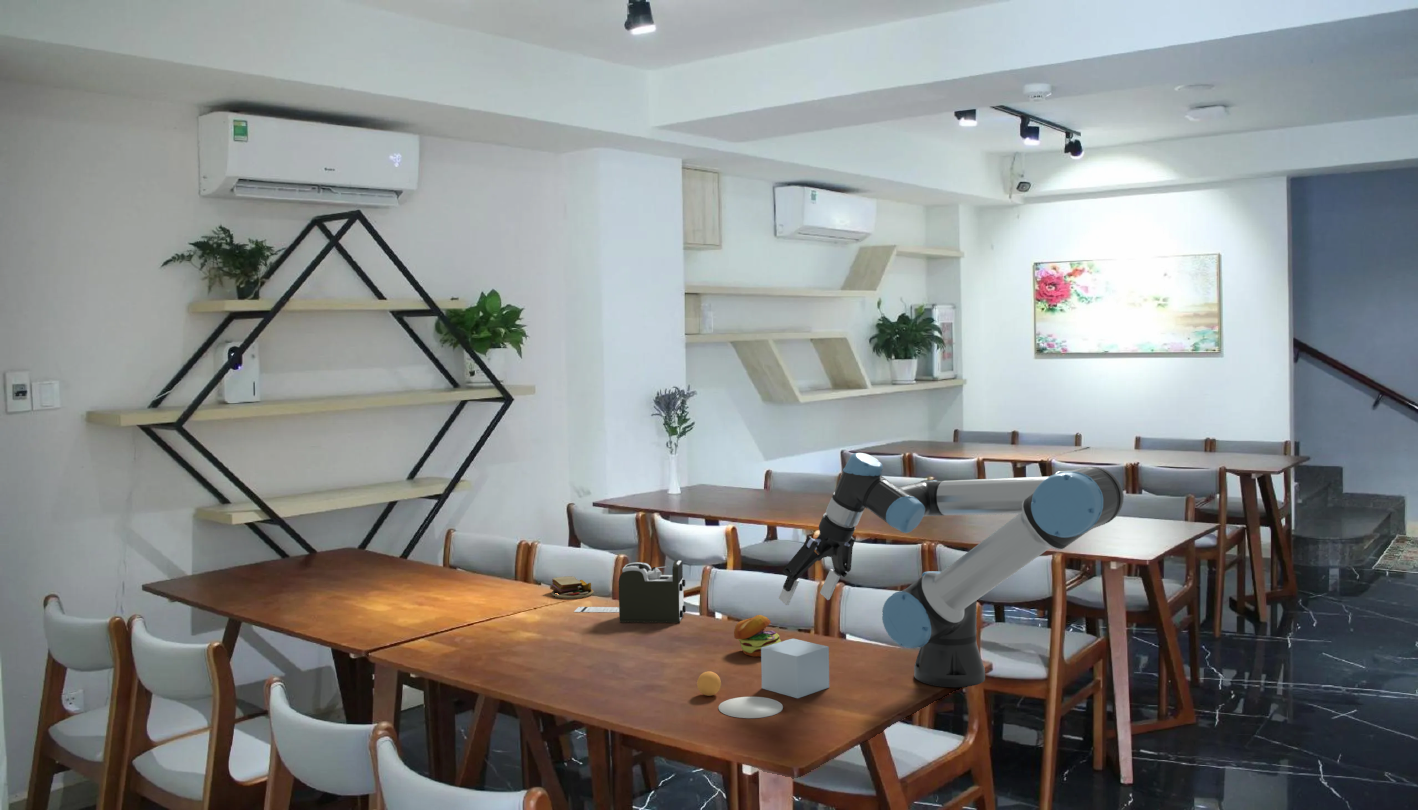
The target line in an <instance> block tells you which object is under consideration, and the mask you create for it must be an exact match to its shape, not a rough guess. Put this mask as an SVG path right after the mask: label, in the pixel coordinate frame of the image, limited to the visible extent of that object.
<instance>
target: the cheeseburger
mask: <svg viewBox="0 0 1418 810" xmlns="http://www.w3.org/2000/svg"><path fill="white" fill-rule="evenodd" d="M771 622H772V621H771V620H770V619H769V618H768V617H767V616H764V615H763V614H758V615H757V614H756V615H755V616H753V617H750V618H747V619H743V620H740V621H738V622H737V623H736V625H735V627H734V631H733V636H734V639H736V640H738V641H739V644H740V646H741V647H740V648H741V649H742V652H743V654H745V655H747V656H750V657H755V658H757V657H758V658H759V657H760V658H761V648H762V647H765V646H769V645H772V644H775V643H779V642H782V641H781V640H782V639H780V637H781V636H780V635H779V634H778V633H777V632H776V631H775V630H766V628H767V627H768V626H769V625H770V624H771Z"/></svg>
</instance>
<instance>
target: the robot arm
mask: <svg viewBox="0 0 1418 810" xmlns="http://www.w3.org/2000/svg"><path fill="white" fill-rule="evenodd" d="M883 469H884V466H883V463H882V462H880V460H879V459H878V458H876V457H874V456H872V455H870V454H868V453H865V452H855V453H853V454H851V455H850V457H849V459H848V461H847V463H846V464H845V466H844V468H843V469H842V473H841V474H840V477H839V480H838V482H837V485H836V487H835V490H834V492H833V493H832V496H831V498H830V500H829V502H828V505H827V507H826V510H825V513H823V515H822V517H821V520H820V522H819V524H818V530H819V534H818V536H817V537H816V538H813V537H812V536H810V535H809V536H807V537H806V539H805V541H804V543H803V545H802V546H801V547H800V549H798V551H797V552H796V553H795V554H794V556H793V557H792V558H791V559H790V561H789V562H788V563H787V564H786V566H785V567H784V568H783V569H782V573H783V574H784V575H785V576H786V579H785V581H784V584H783V586H782V589H781V591H780V594H779V596H778V599H779V600H780V601H781V602H782V603H783V604H784V605H785V606H789V605H790V603H791V600H792V598H793V596H794V594H795V592H796V590H797V587H798V585H799V583H800V580H799V578H800V577H801V576H803V574H805V573H806V572H807V571H808V570H809V569H810V568H811V567H812V566H813V565H815V563H816V562H817V561H819V562H820V561H822V559H824V558H825V559H826V558H827V557H829V558H831V562H832V567H833V569H832V568H830V570H829V571H828V574H827V576H826V578H825V581H824V583H823V584H822V587H821V589H820V592H819V594H821V596H822V597H824V598H825V599H826V600H827V601H829V600H830V599H831V598H832V596H833V593H834V591H835V588H836V587H837V585H838V583H839V581H840V579H841V576H842V577H843V578H845V577H846V576H847V575H848V573H849V572H850V571H851V570H852V560H853V550H854V549H853V547H854V544H855V542H856V539H855V538H854V537H853V535H854V533H855V530H856V527H857V526H858V524H859V522H860V520H861V518H862V515H863V513H864V511H865V509H866V510H868V511H870V512H871V513H873V514H874V515H876V516H877V517H878V518H880V519H881V520H882V521H884V522H885V523H887V524H888V525H889V526H890V527H891V528H893V529H896V530H897V531H899V532H901V533H904V534H908V533H911V532H913V530H915V529H916V528H917V527H918V526H919V525H920V523H922V520H923V518H924V517H932V516H933V517H940V516H941V517H942V516H975V515H976V516H986V515H987V516H988V515H990V516H991V515H995V516H996V515H1016V516H1015V517H1013V518H1012V519H1010V520H1009V521H1008V522H1006V523H1005V524H1003V525H1002V526H1001V527H1000V528H998V529H997V530H995V531H994V532H993V533H991V534H990V535H989V536H988V537H986V538H985V539H983V540H982V541H981V542H980V543H978V544H977V545H975V546H974V547H973V548H972V549H969V551H967V552H966V553H965V554H963V555H962V556H961V557H960V558H958V559H956V560H955V561H954V562H953V563H951V564H950V565H948V566H947V567H945V569H943V570H942V571H939V570H938V571H932V570H931V571H924V572H923V573H922V574H921V577H920V578H919V579H917V580H916V581H915V582H912V584H911V585H909V586H908V587H907V588H904V589H903V590H901V591H900V590H899V591H896V592H894V593H892V594H891V595H890V596H889V597H888V598H887V599H886V600H885V601H884V604H883V607H882V617H881V620H882V623H883V627H884V629H885V631H886V634H887V635H888V636H889V638H890V639H891V640H892V641H893V642H894V643H895V644H897V645H898V646H900V647H901V646H902V647H903V648H906V649H915V648H919V650H918V654H917V656H916V660H915V663H914V665H913V666H914V667H913V669H914V670H913V672H914V673H913V675H914V676H913V677H914V678H915V680H917V681H918V682H920V683H923V684H925V685H930V686H935V687H942V688H965V687H966V688H967V687H974V686H977V685H980V684H982V683H983V682H985V680H986V668H985V665H984V663H983V660H982V656H981V653H980V650H979V646H978V643H977V600H979V599H980V598H982V597H983V596H985V595H986V594H988V593H989V592H991V590H994V588H997V586H999V585H1000V584H1001V583H1003V582H1005V581H1006V580H1007V579H1009V578H1010V577H1011V576H1013V575H1014V574H1016V573H1017V572H1019V571H1020V570H1021V569H1023V568H1024V567H1026V566H1027V565H1028V564H1030V563H1031V562H1033V561H1034V560H1035V559H1036V558H1038V557H1040V556H1041V555H1042V554H1044V553H1045V552H1046V551H1048V550H1050V549H1054V550H1058V551H1061V550H1063V549H1065V548H1067V547H1068V546H1069V545H1071V544H1072V543H1073V542H1075V541H1076V540H1078V539H1079V538H1081V537H1082V536H1084V535H1085V534H1087V533H1088V532H1090V531H1092V530H1093V529H1095V528H1099V527H1101V526H1103V525H1106V524H1108V523H1110V522H1111V521H1113V520H1114V519H1116V517H1117V516H1118V515H1119V513H1120V511H1121V510H1122V508H1123V505H1124V498H1125V496H1124V490H1123V487H1122V484H1121V482H1120V481H1119V479H1118V478H1117V477H1116V476H1115V475H1114V474H1113V473H1112V472H1110V471H1109V470H1107V469H1105V468H1102V467H1099V466H1092V465H1091V466H1090V465H1089V466H1083V467H1081V468H1076V469H1071V470H1059V471H1056V472H1055V473H1054V474H1051V475H1050V476H1049V475H1048V476H1034V477H1033V476H1032V477H1031V476H1030V477H1027V476H1025V477H1009V478H1008V477H1005V478H980V479H977V478H976V479H957V480H937V479H924V480H921V481H918V482H913V483H910V484H905V485H900V486H898V485H896V484H894V483H892V481H889V480H887V479H886V478H885V477H884V476H882V474H883ZM815 550H816V552H815Z"/></svg>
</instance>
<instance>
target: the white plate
mask: <svg viewBox="0 0 1418 810" xmlns="http://www.w3.org/2000/svg"><path fill="white" fill-rule="evenodd" d="M783 708H784V706H783V704H782V703H781V702H779V701H778V700H776V699H772V698H769V697H763V696H740V697H733V698H729V699H727V700H724V701H722V702H721V703H720V704H719V705H718V711H719V712H721V713H722V714H724V715H725V716H729V717H732V718H733V717H734V718H740V719H760V718H768V717H772V716H774V715H777V714H779V713H781V712H782V711H783Z"/></svg>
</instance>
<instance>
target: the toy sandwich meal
mask: <svg viewBox="0 0 1418 810" xmlns="http://www.w3.org/2000/svg"><path fill="white" fill-rule="evenodd" d="M549 590H552V591H551V595H552V596H553V597H554V596H555V597H554V598H556V597H558V598H557V599H561V598H566V599H565V600H574V599H575V600H576V598H577V599H582V597H584V598H586V597H590V596H592V594H593V593H594V592H595V591H594V590H593V589H592V582H588V583H587V582H586V581H585V580H583V579H578V578H576V577H575V576H573V575H572V576H568V575H567V576H558V577H554V578H553V577H552V584H551V585H550V586H549ZM555 593H558V594H559V595H557V594H555Z"/></svg>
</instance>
